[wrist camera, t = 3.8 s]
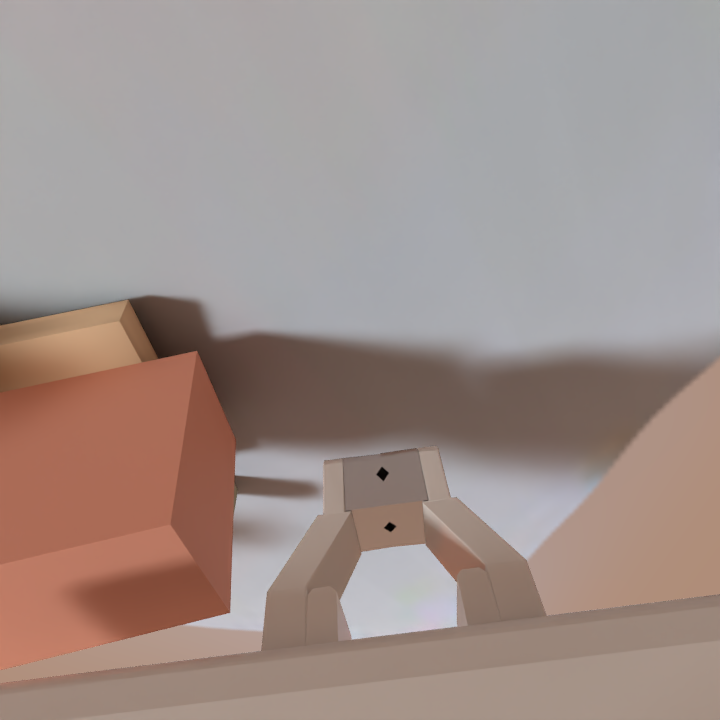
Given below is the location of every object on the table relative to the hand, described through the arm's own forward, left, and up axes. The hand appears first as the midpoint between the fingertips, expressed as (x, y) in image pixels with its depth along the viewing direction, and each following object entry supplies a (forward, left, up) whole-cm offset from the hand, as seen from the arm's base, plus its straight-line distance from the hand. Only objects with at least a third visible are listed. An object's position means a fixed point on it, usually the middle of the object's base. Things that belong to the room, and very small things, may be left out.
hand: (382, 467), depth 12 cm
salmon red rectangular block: (0, -8, -3) cm, 9 cm away
